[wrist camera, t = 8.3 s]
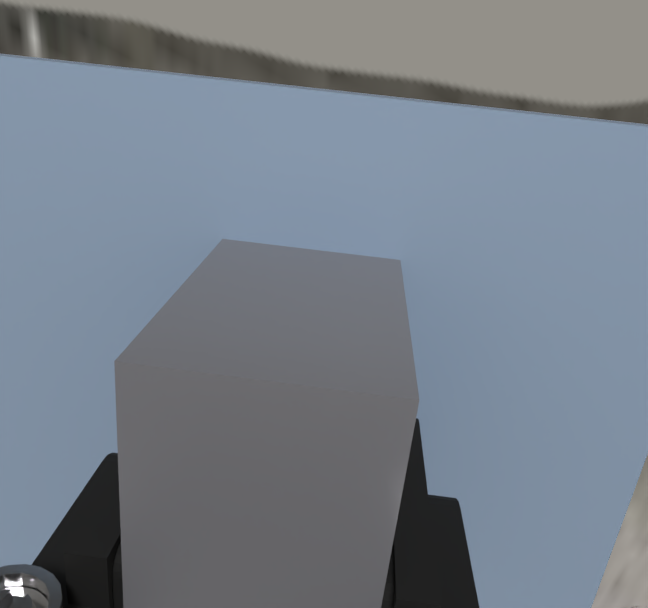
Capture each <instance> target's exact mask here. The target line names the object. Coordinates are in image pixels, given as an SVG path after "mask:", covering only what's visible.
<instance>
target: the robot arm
mask: <svg viewBox="0 0 648 608" xmlns="http://www.w3.org/2000/svg"><path fill="white" fill-rule="evenodd" d="M0 608H123V582H122V555H121V528H120V501H119V474H118V453H110V454H108V455H107V456H106V457H105V458H104V459H103V461H102V462H101V464H100V465H99V467H98V468H97V470H96V471H95V472H94V474H93V475H92V477H91V478H90V480H89V481H88V483H87V484H86V486H85V487H84V489H83V490H82V491H81V493H80V494H79V496H78V497H77V499H76V500H75V502H74V503H73V505H72V506H71V508H70V509H69V511H68V512H67V513H66V515H65V516H64V518H63V519H62V521H61V522H60V524H59V525H58V527H57V528H56V530H55V531H54V533H53V534H52V535H51V537H50V538H49V540H48V541H47V543H46V544H45V546H44V547H43V549H42V550H41V552H40V553H39V555H38V556H37V557H36V559H35V560H34V562H33V563H32V565H28V564H17V565H6V566H3V567H0ZM381 608H479V603H478V597H477V592H476V587H475V582H474V576H473V571H472V566H471V561H470V555H469V550H468V545H467V540H466V534H465V529H464V524H463V519H462V514H461V508H460V505H459V501H458V500H457V499H456V498H451V497H444V496H436V495H429V494H428V490H427V482H426V474H425V465H424V457H423V449H422V441H421V433H420V424H419V419H418V418H416V422H415V427H414V432H413V438H412V443H411V449H410V454H409V459H408V465H407V470H406V476H405V481H404V486H403V492H402V497H401V503H400V508H399V513H398V519H397V524H396V530H395V535H394V540H393V546H392V551H391V556H390V562H389V567H388V573H387V578H386V583H385V589H384V594H383V600H382V605H381Z"/></svg>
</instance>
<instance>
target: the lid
mask: <svg viewBox="0 0 648 608" xmlns="http://www.w3.org/2000/svg"><path fill="white" fill-rule="evenodd" d="M416 418H418V419H419V424H420V433H421V441H422V449H423V457H424V465H425V474H426V482H427V490H428V494H429V495H436V496H444V497H451V498H456V499H457V500H458V501H459V505H460V508H461V514H462V519H463V524H464V529H465V534H466V540H467V545H468V550H469V555H470V561H471V566H472V571H473V576H474V582H475V587H476V592H477V597H478V603H479V608H591V607H592V604H593V601H594V598H595V596H596V593H597V590H598V588H599V585H600V582H601V579H602V577H603V574H604V571H605V568H606V566H607V563H608V560H609V558H610V555H611V552H612V549H613V547H614V544H615V541H616V538H617V536H618V533H619V530H620V528H621V525H622V522H623V519H624V517H625V514H626V511H627V508H628V506H629V503H630V500H631V498H632V495H633V492H634V489H635V487H636V484H637V481H638V478H639V476H640V473H641V470H642V468H643V465H644V462H645V459H646V457H647V454H648V124H638V123H629V122H620V121H611V120H602V119H593V118H584V117H574V116H565V115H556V114H547V113H538V112H529V111H520V110H510V109H501V108H492V107H483V106H474V105H465V104H456V103H446V102H437V101H428V100H419V99H410V98H401V97H392V96H382V95H373V94H364V93H355V92H346V91H337V90H328V89H318V88H309V87H300V86H291V85H282V84H273V83H264V82H254V81H245V80H236V79H227V78H218V77H209V76H200V75H191V74H181V73H172V72H163V71H154V70H145V69H136V68H127V67H117V66H108V65H99V64H90V63H81V62H72V61H63V60H53V59H44V58H35V57H26V56H17V55H8V54H0V567H3V566H6V565H17V564H28V565H32V563H33V562H34V560H35V559H36V557H37V556H38V555H39V553H40V552H41V550H42V549H43V547H44V546H45V544H46V543H47V541H48V540H49V538H50V537H51V535H52V534H53V533H54V531H55V530H56V528H57V527H58V525H59V524H60V522H61V521H62V519H63V518H64V516H65V515H66V513H67V512H68V511H69V509H70V508H71V506H72V505H73V503H74V502H75V500H76V499H77V497H78V496H79V494H80V493H81V491H82V490H83V489H84V487H85V486H86V484H87V483H88V481H89V480H90V478H91V477H92V475H93V474H94V472H95V471H96V470H97V468H98V467H99V465H100V464H101V462H102V461H103V459H104V458H105V457H106V456H107V455H108V454H110V453H118V474H119V501H120V528H121V555H122V582H123V608H381V605H382V600H383V594H384V589H385V583H386V578H387V573H388V567H389V562H390V556H391V551H392V546H393V540H394V535H395V530H396V524H397V519H398V513H399V508H400V503H401V497H402V492H403V486H404V481H405V476H406V470H407V465H408V459H409V454H410V449H411V443H412V438H413V432H414V427H415V422H416Z"/></svg>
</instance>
